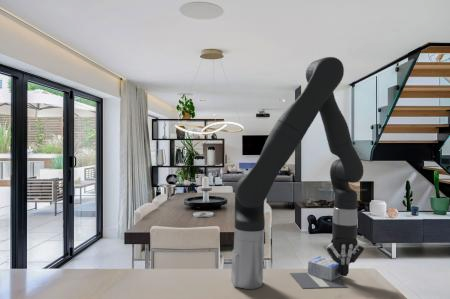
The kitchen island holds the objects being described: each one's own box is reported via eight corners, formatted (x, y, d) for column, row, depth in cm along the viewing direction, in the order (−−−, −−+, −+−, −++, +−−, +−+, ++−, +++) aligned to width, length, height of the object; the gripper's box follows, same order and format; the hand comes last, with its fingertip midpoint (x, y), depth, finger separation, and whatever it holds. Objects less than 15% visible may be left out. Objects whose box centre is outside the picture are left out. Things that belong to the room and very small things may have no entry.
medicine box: (332, 268, 111) (307, 260, 117) (331, 281, 111) (307, 273, 117) (343, 262, 117) (319, 255, 123) (342, 275, 117) (318, 268, 123)
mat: (302, 288, 106) (302, 287, 106) (289, 273, 117) (289, 272, 117) (347, 287, 108) (347, 286, 108) (330, 272, 120) (330, 272, 120)
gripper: (330, 224, 107) (328, 280, 108) (370, 224, 109) (368, 279, 110) (320, 219, 115) (319, 271, 115) (358, 218, 117) (356, 270, 117)
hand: (343, 275), depth 113 cm, fingers closed
